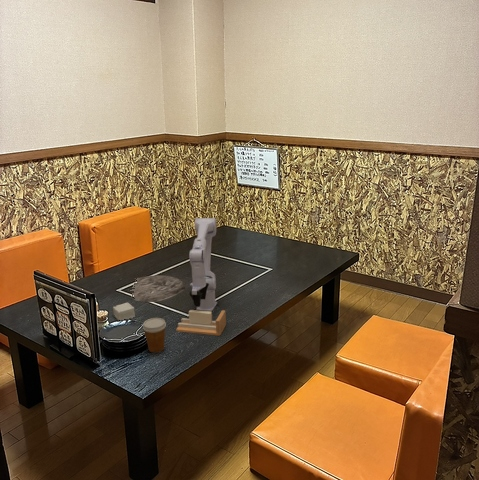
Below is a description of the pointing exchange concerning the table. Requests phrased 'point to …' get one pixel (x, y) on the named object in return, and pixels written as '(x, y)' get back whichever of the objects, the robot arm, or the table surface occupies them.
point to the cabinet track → (204, 326)
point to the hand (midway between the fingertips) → (200, 302)
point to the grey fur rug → (156, 288)
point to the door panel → (200, 317)
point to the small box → (124, 311)
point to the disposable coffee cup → (155, 334)
